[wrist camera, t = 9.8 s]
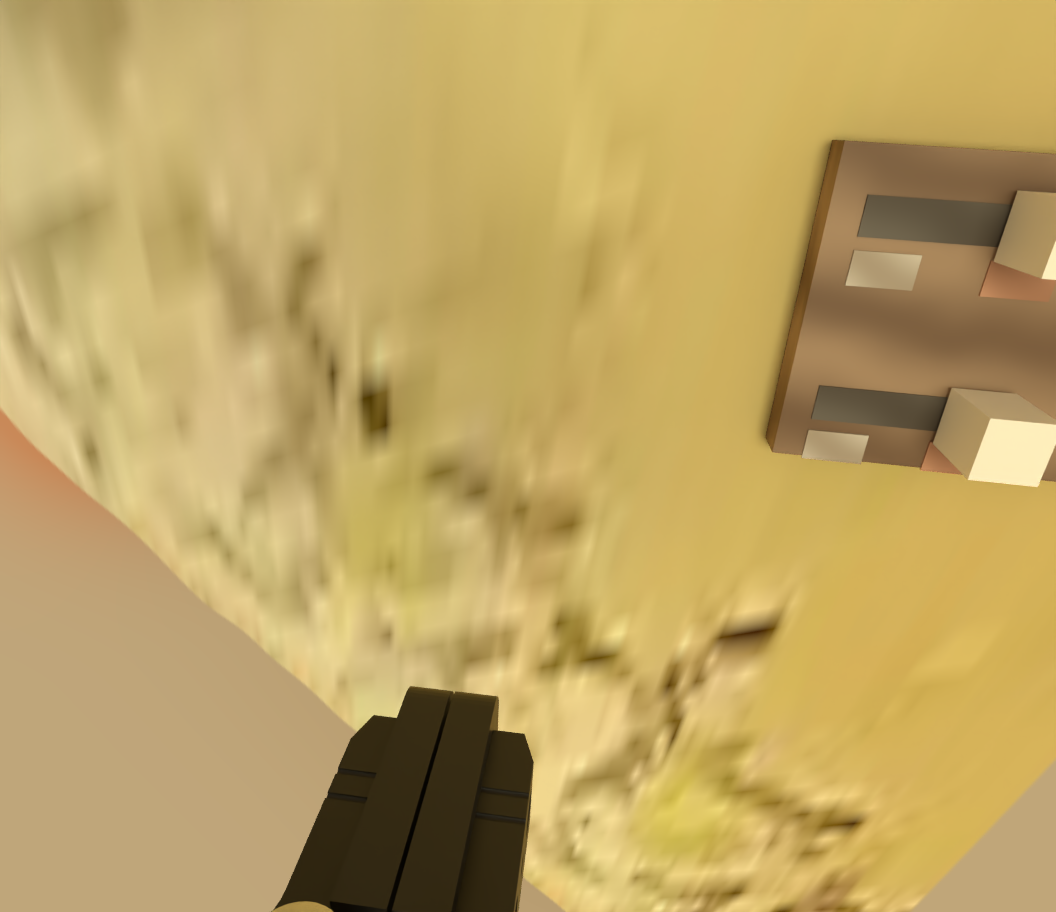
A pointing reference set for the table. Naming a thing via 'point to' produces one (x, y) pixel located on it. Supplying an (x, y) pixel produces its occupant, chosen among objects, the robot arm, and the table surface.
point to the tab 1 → (1030, 235)
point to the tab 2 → (996, 437)
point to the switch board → (911, 304)
